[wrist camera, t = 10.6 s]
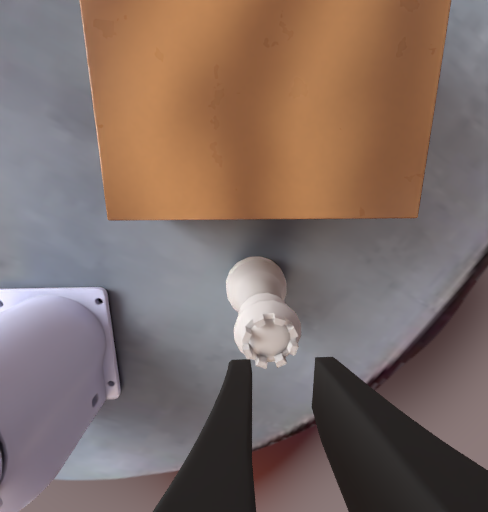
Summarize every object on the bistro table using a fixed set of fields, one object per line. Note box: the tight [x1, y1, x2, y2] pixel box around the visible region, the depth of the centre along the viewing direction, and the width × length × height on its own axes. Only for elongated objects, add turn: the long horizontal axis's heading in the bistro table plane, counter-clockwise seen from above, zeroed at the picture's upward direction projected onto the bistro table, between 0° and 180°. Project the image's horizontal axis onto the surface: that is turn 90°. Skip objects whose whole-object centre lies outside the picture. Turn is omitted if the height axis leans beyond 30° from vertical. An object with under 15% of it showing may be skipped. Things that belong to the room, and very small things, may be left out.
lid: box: [80, 0, 451, 220], centre depth 10 cm, size 14×12×1 cm
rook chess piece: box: [226, 256, 301, 369], centre depth 14 cm, size 4×4×8 cm
